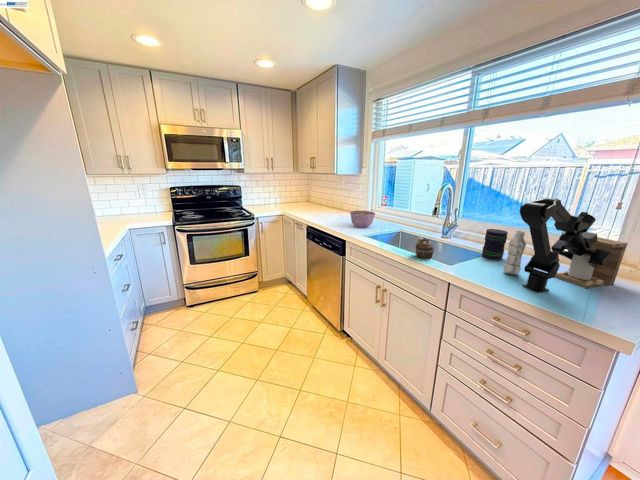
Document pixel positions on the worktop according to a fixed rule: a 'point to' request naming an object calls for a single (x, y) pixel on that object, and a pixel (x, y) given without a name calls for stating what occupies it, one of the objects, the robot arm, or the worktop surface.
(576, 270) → the can
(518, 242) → the plastic bottle
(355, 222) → the bowl of food
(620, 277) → the worktop surface
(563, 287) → the worktop surface
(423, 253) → the cupcake
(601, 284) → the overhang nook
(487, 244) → the storage jar
